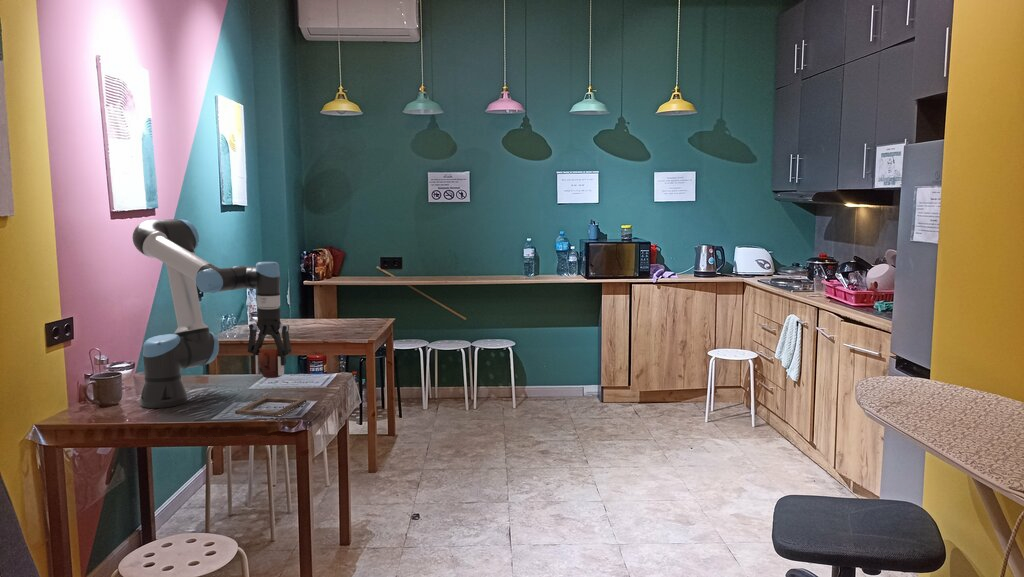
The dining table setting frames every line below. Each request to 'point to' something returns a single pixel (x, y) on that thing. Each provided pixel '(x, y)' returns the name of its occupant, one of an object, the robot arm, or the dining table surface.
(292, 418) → the dining table surface
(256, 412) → the frame
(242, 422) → the dining table surface
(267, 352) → the mug
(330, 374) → the dining table surface
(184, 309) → the robot arm
